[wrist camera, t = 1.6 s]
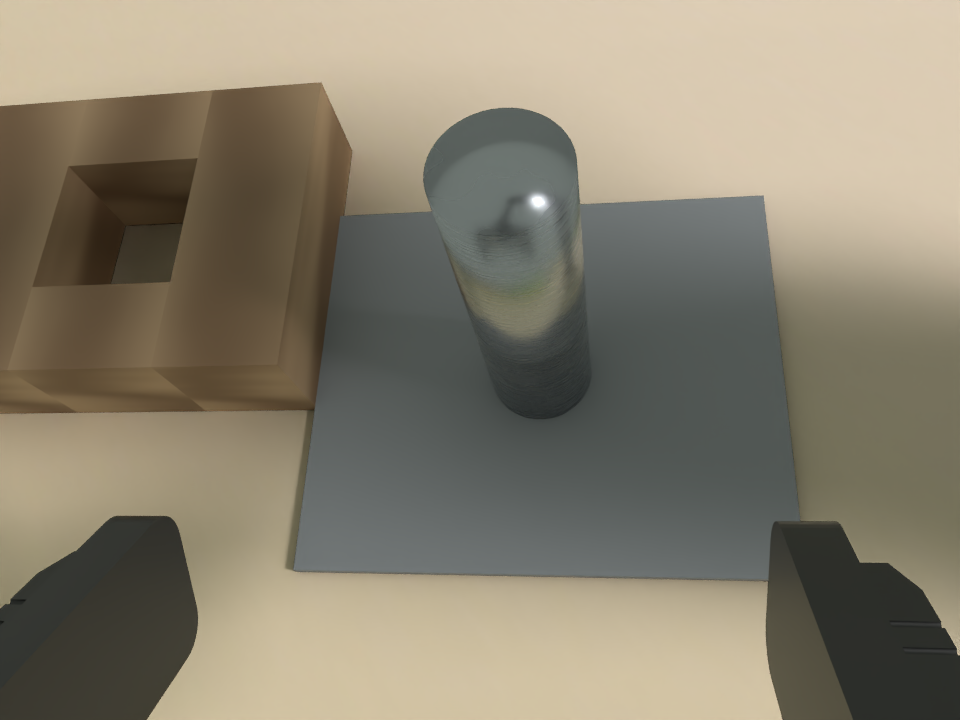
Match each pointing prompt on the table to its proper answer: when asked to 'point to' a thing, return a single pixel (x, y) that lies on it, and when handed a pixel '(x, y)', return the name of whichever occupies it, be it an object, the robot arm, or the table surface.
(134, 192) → the hole block
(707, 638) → the table surface
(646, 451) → the mat
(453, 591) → the table surface
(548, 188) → the peg
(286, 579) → the table surface
